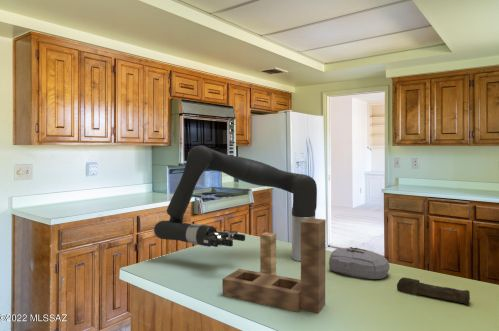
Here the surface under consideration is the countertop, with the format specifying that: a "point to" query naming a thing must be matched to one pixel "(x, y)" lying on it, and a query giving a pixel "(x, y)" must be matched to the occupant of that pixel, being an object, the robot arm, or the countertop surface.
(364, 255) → the small grey backpack
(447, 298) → the hand tool
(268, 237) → the rail bar
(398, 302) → the countertop surface
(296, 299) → the wooden peg socket stand
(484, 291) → the countertop surface
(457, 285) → the countertop surface
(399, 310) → the countertop surface
